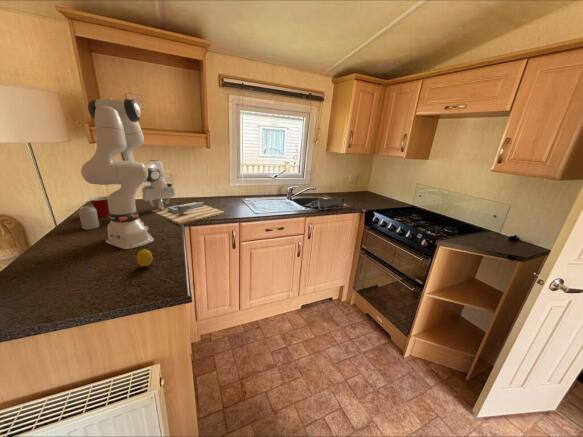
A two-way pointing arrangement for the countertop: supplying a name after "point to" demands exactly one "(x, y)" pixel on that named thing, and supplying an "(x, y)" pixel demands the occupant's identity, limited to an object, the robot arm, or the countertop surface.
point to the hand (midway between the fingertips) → (160, 204)
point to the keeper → (183, 209)
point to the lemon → (144, 257)
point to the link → (175, 208)
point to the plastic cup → (101, 206)
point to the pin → (160, 204)
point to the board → (190, 214)
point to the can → (88, 217)
